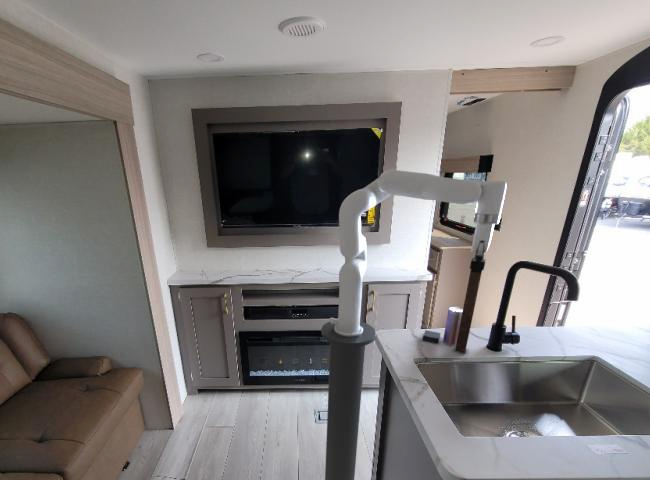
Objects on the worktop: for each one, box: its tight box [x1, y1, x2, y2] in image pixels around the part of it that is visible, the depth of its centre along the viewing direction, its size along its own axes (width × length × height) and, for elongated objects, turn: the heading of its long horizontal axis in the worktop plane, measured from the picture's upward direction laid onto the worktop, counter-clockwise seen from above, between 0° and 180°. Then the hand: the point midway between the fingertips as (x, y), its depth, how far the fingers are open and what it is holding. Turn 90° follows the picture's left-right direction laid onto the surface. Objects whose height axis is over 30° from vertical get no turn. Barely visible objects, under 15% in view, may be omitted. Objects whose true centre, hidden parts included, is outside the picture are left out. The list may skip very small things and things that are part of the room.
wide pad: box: [422, 329, 441, 344], centre depth 138 cm, size 6×6×2 cm
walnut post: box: [454, 270, 483, 354], centre depth 124 cm, size 4×4×34 cm
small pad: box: [469, 257, 486, 271], centre depth 117 cm, size 4×4×3 cm
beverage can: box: [442, 306, 463, 346], centre depth 133 cm, size 6×6×15 cm
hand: (476, 269), depth 118 cm, fingers closed on small pad, 4 cm apart
